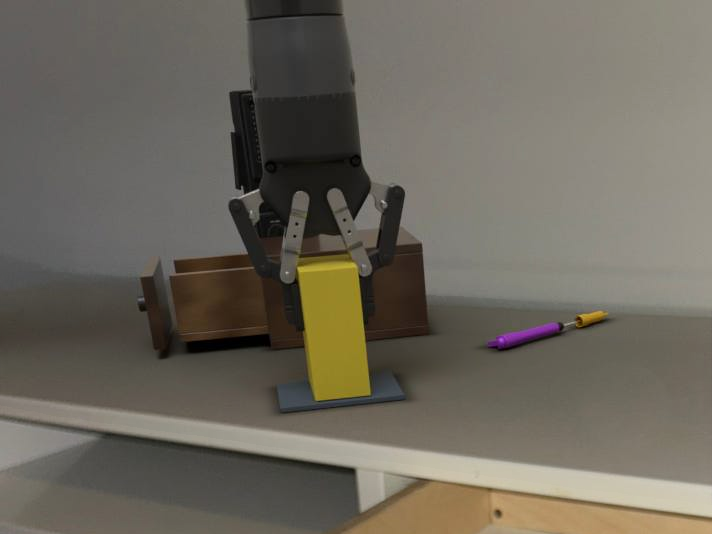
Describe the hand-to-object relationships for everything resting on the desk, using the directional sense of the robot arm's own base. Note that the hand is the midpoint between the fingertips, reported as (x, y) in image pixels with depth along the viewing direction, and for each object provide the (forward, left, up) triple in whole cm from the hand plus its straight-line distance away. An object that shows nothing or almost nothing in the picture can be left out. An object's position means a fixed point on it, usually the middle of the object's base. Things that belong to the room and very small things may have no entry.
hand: (331, 325), depth 87 cm
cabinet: (+3, +26, -6) cm, 27 cm away
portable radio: (-2, +38, -6) cm, 38 cm away
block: (0, 0, -5) cm, 5 cm away
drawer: (-9, +26, -5) cm, 28 cm away
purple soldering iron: (+22, +14, -6) cm, 27 cm away
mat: (0, 0, -6) cm, 6 cm away
